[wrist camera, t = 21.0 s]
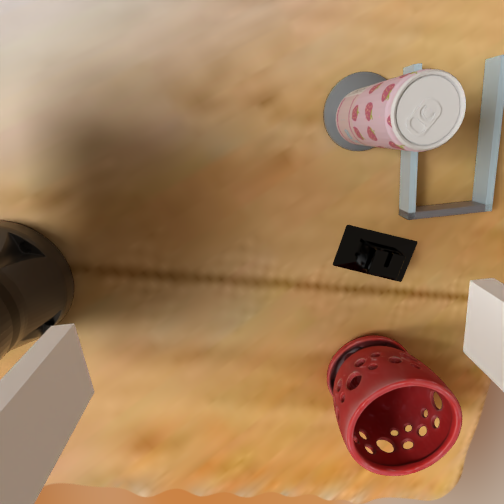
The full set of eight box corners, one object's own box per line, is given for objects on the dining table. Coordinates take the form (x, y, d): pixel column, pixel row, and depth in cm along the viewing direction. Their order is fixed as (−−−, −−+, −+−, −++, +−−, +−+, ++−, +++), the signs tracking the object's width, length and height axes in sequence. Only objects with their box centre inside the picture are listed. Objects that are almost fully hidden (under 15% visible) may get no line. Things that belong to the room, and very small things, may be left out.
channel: (399, 214, 44) (408, 219, 42) (403, 68, 39) (414, 64, 36) (478, 206, 44) (491, 210, 42) (493, 58, 39) (509, 54, 37)
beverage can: (329, 139, 40) (379, 145, 26) (342, 83, 39) (404, 57, 24) (378, 148, 41) (453, 159, 27) (393, 94, 39) (482, 75, 25)
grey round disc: (324, 154, 41) (325, 154, 41) (321, 76, 39) (323, 75, 38) (394, 146, 41) (397, 147, 41) (396, 68, 39) (399, 67, 38)
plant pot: (389, 412, 54) (430, 488, 42) (306, 390, 52) (326, 464, 40) (431, 338, 50) (488, 400, 38) (343, 312, 48) (376, 369, 37)
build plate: (429, 237, 46) (448, 249, 41) (406, 289, 48) (423, 305, 44) (335, 213, 44) (345, 222, 40) (316, 268, 46) (324, 282, 42)
